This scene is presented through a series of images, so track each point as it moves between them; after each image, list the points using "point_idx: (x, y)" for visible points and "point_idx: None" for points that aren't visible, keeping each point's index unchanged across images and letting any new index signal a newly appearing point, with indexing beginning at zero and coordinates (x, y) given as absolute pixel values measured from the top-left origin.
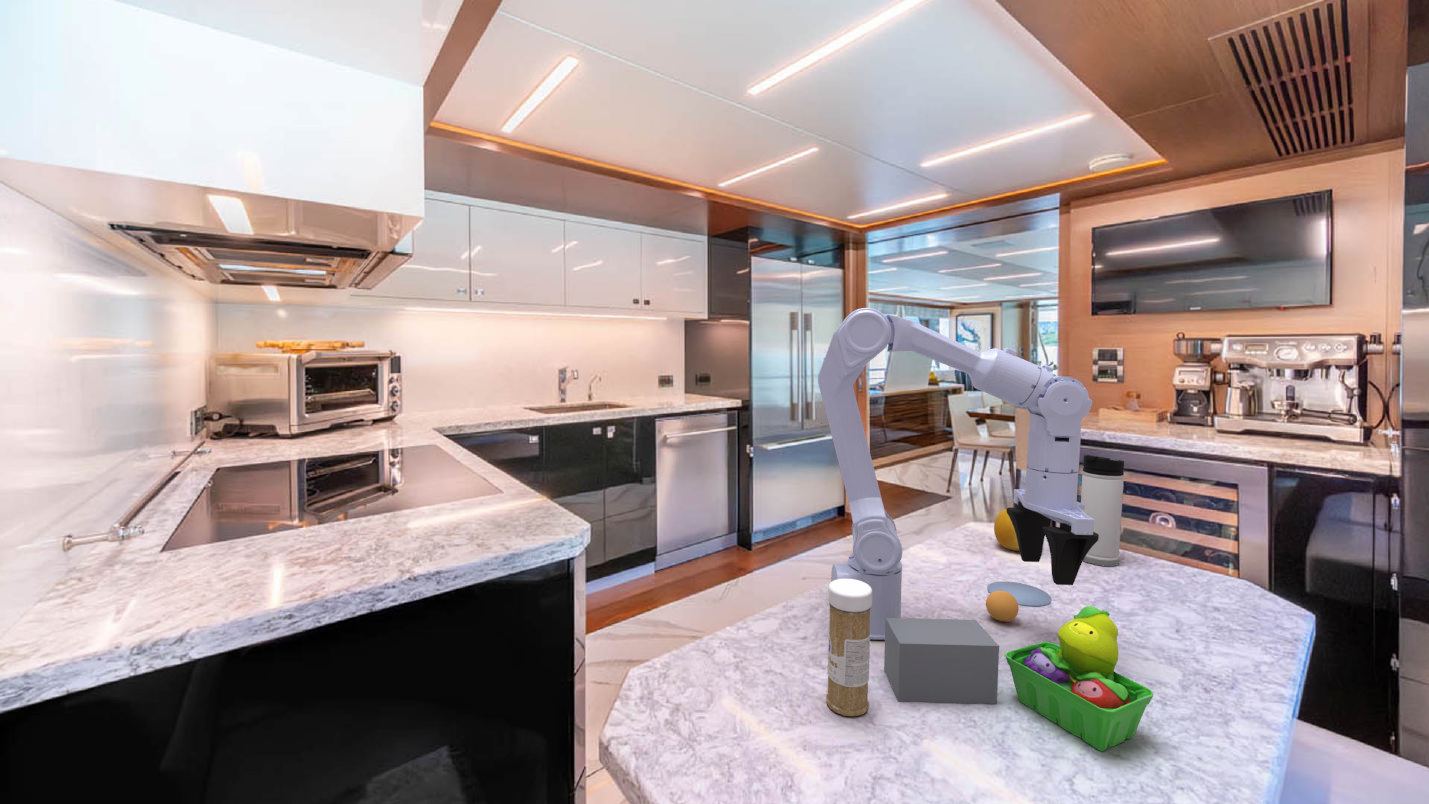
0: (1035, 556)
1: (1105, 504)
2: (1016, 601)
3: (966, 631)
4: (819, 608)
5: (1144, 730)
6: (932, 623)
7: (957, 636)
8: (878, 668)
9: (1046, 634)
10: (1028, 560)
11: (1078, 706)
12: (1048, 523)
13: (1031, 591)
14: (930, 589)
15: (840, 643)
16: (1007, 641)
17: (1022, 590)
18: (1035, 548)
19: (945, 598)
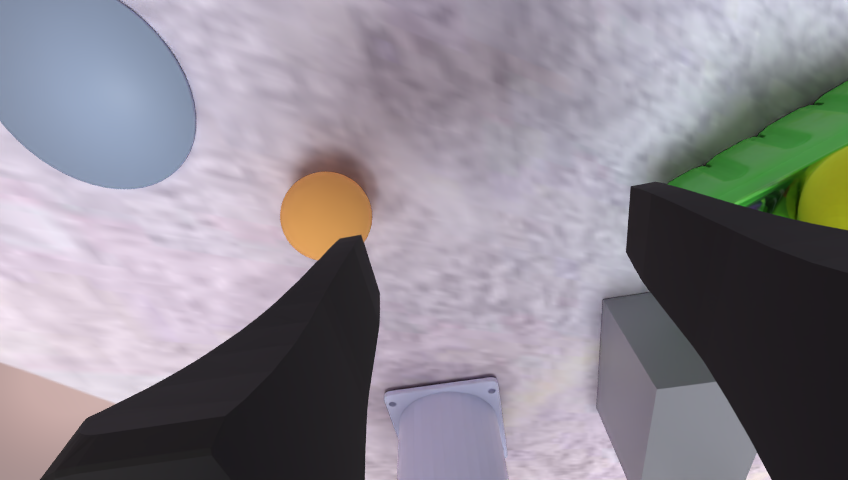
0: (362, 266)
1: None
2: (331, 193)
3: (711, 410)
4: (395, 473)
5: (842, 33)
6: (667, 451)
7: (732, 426)
8: (589, 413)
9: (390, 99)
10: (372, 280)
11: None
12: (281, 361)
13: (39, 41)
14: (203, 320)
15: None
16: (457, 211)
17: (51, 74)
18: (353, 294)
19: (247, 297)
